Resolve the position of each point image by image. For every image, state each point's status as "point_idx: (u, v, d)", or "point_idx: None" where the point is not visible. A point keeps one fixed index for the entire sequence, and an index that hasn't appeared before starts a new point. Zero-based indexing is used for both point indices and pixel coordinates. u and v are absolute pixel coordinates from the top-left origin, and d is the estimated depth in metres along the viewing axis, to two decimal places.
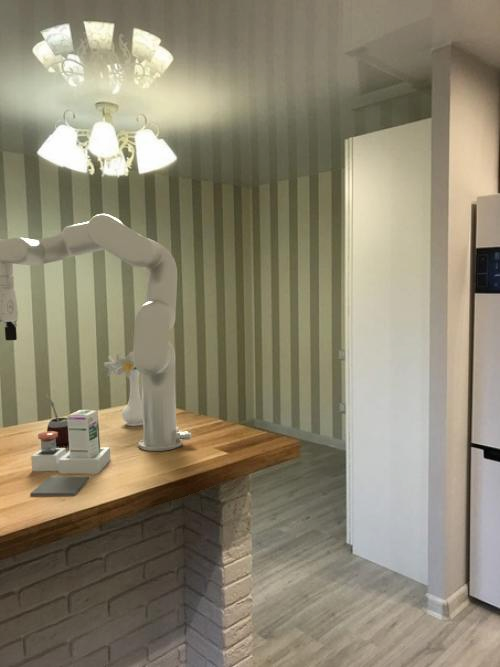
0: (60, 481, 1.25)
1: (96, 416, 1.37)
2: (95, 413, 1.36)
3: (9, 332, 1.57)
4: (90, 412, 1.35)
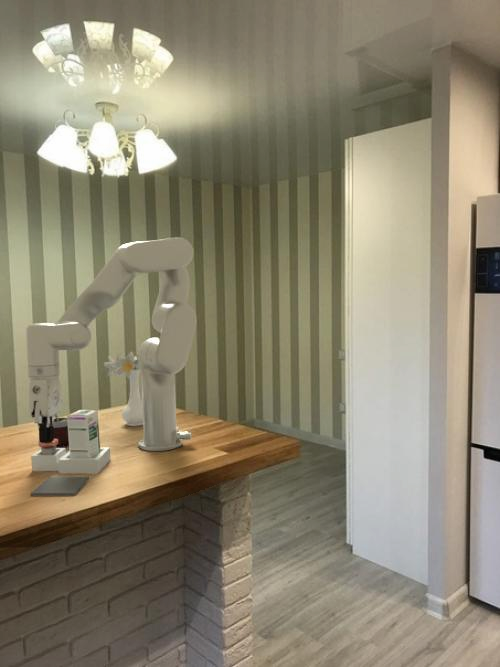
0: (60, 481, 1.25)
1: (96, 416, 1.37)
2: (95, 413, 1.36)
3: None
4: (90, 412, 1.35)
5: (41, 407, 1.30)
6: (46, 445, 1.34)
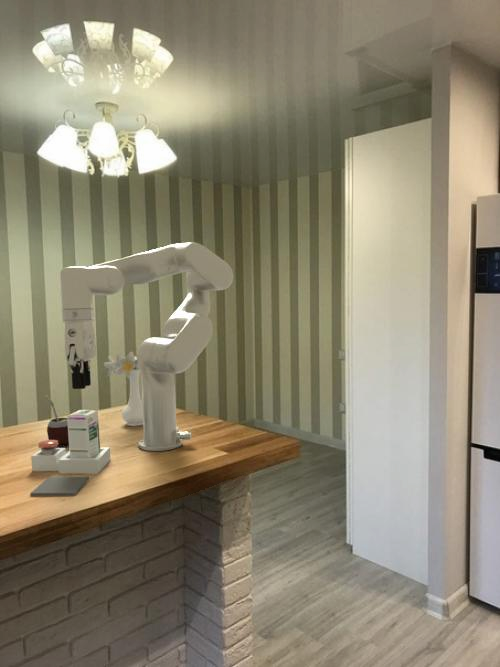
0: (60, 481, 1.25)
1: (96, 416, 1.37)
2: (95, 413, 1.36)
3: None
4: (90, 412, 1.35)
5: (77, 350, 1.29)
6: (46, 446, 1.34)
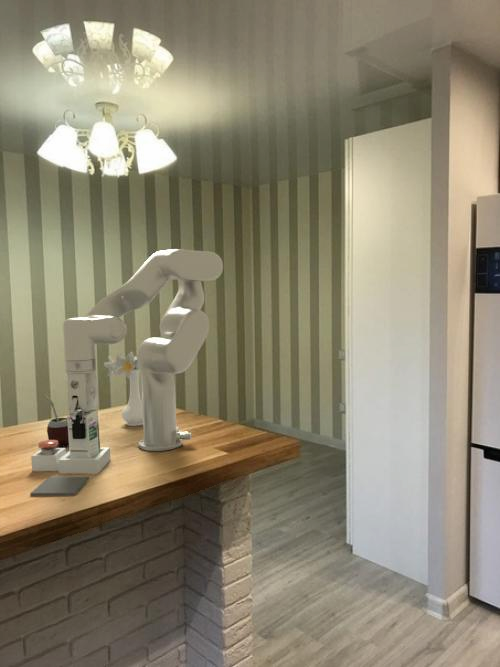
0: (60, 481, 1.25)
1: (96, 416, 1.37)
2: (95, 413, 1.36)
3: None
4: (90, 411, 1.35)
5: (80, 401, 1.30)
6: (46, 446, 1.34)
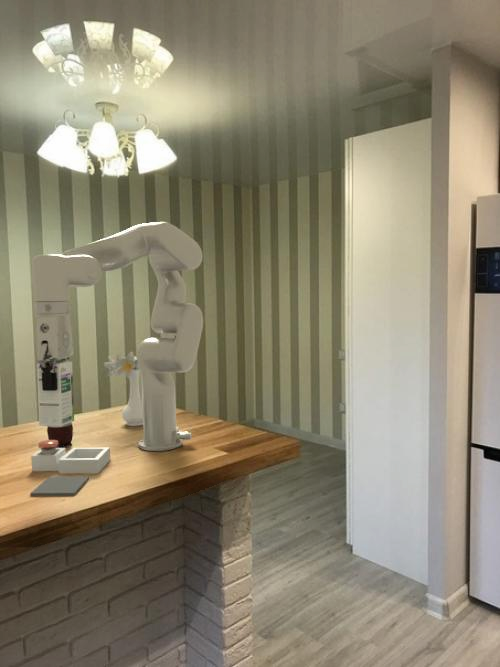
0: (60, 481, 1.25)
1: (70, 367, 1.22)
2: (69, 364, 1.21)
3: None
4: (63, 361, 1.21)
5: (50, 347, 1.15)
6: (46, 446, 1.34)
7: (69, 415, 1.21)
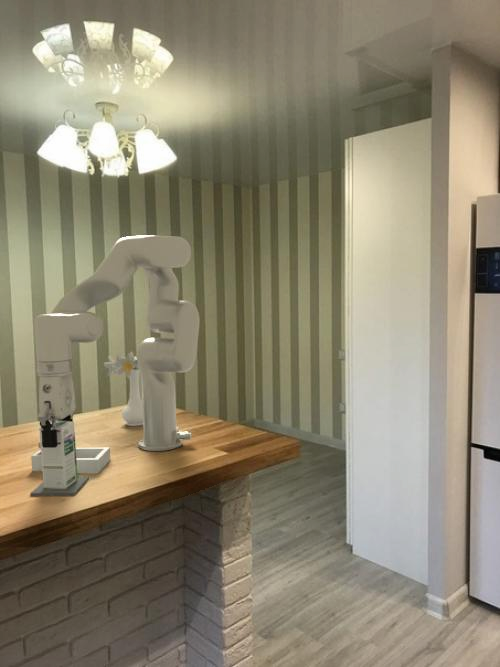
0: None
1: (72, 428, 1.23)
2: (71, 425, 1.23)
3: None
4: (65, 423, 1.22)
5: (53, 408, 1.16)
6: None
7: (72, 475, 1.23)
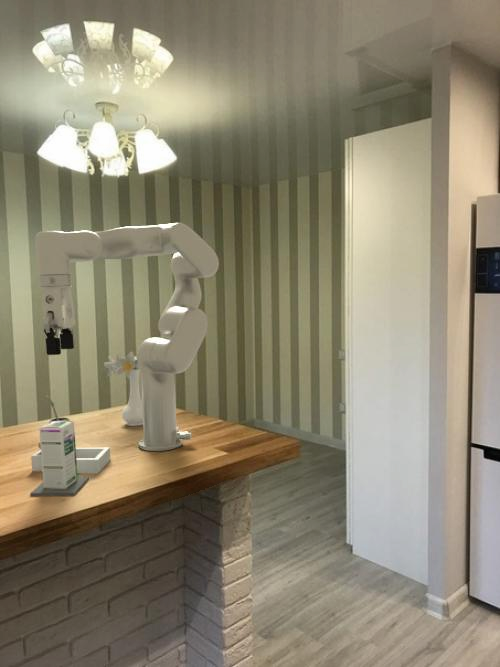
0: None
1: (72, 428, 1.23)
2: (71, 425, 1.23)
3: (65, 340, 1.34)
4: (65, 423, 1.22)
5: (56, 317, 1.24)
6: None
7: (72, 475, 1.23)
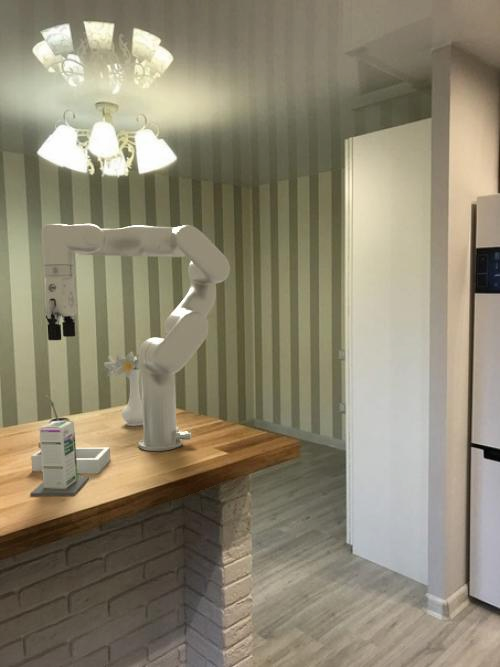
0: None
1: (72, 428, 1.23)
2: (71, 425, 1.23)
3: (67, 327, 1.42)
4: (65, 423, 1.22)
5: (57, 304, 1.32)
6: None
7: (72, 475, 1.23)
